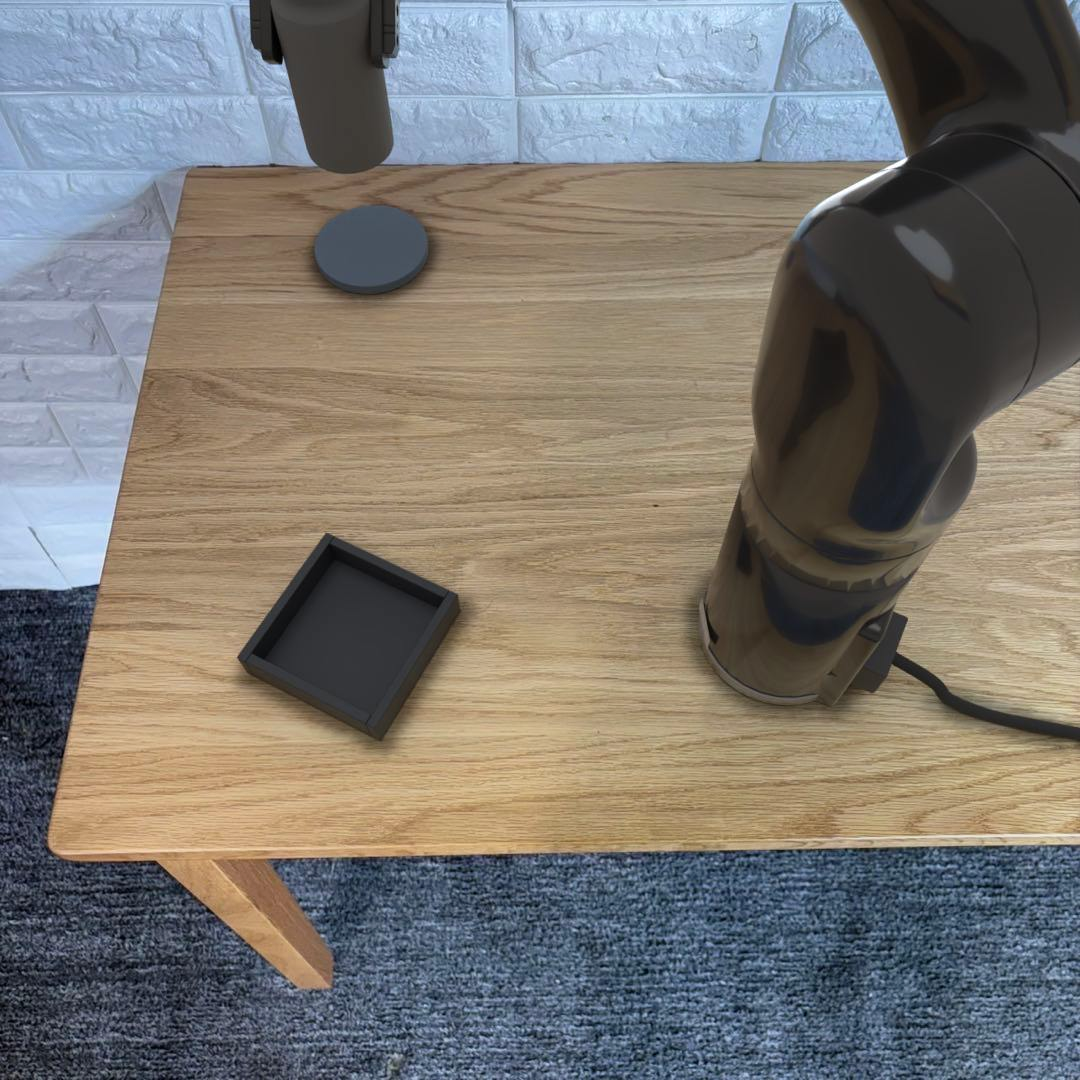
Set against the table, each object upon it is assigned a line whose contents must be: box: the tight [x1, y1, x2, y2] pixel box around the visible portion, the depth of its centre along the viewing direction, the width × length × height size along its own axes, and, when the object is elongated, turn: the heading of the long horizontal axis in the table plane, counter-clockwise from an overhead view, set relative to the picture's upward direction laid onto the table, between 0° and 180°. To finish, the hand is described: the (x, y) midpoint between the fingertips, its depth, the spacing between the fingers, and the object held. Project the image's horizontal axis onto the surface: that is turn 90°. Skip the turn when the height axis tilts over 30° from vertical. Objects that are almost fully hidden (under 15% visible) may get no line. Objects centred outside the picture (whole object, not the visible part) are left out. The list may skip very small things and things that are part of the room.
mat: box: [313, 204, 429, 295], centre depth 75 cm, size 8×8×1 cm
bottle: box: [270, 0, 395, 175], centre depth 60 cm, size 6×6×15 cm
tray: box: [236, 532, 462, 743], centre depth 58 cm, size 9×9×2 cm
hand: (326, 63), depth 60 cm, fingers closed on bottle, 6 cm apart
